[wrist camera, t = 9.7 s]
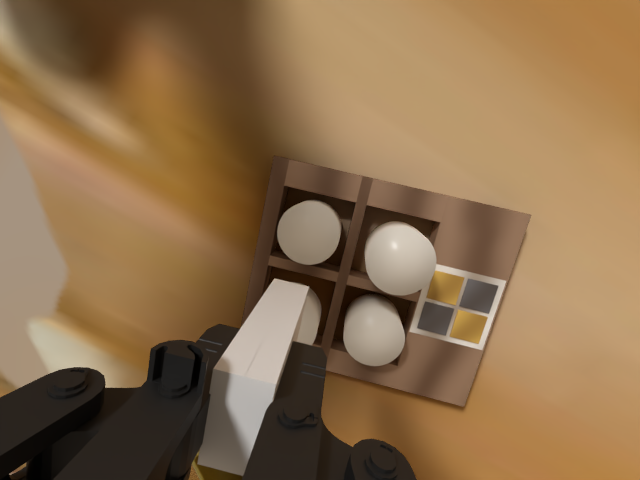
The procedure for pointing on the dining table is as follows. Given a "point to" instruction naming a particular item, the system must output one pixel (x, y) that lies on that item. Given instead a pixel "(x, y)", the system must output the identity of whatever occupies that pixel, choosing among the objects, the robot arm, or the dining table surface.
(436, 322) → the egg tray
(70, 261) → the dining table surface
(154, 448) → the robot arm
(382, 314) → the cream rounded oval
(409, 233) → the white egg
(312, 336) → the white egg
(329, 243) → the white egg
